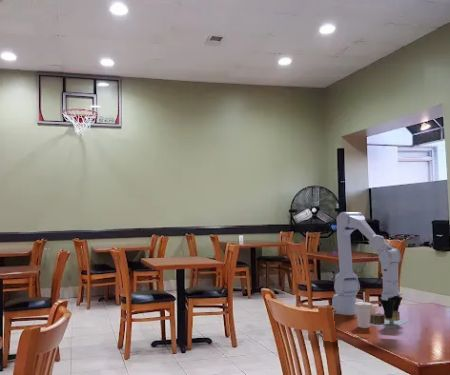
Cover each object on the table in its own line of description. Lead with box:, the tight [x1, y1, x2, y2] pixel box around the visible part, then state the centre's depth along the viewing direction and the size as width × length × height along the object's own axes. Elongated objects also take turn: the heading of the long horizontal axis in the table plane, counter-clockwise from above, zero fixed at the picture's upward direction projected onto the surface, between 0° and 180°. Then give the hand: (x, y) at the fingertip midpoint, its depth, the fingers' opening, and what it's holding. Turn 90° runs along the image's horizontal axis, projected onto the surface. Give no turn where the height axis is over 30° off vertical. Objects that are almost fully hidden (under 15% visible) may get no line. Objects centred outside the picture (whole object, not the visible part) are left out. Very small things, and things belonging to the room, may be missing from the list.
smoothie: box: [354, 291, 373, 329], centre depth 178 cm, size 6×6×14 cm
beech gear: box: [383, 310, 401, 321], centre depth 182 cm, size 5×5×3 cm
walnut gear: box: [370, 312, 385, 324], centre depth 185 cm, size 5×5×3 cm
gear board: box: [370, 312, 410, 329], centre depth 186 cm, size 12×18×5 cm, turn 142°
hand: (391, 317), depth 182 cm, fingers closed on beech gear, 5 cm apart
